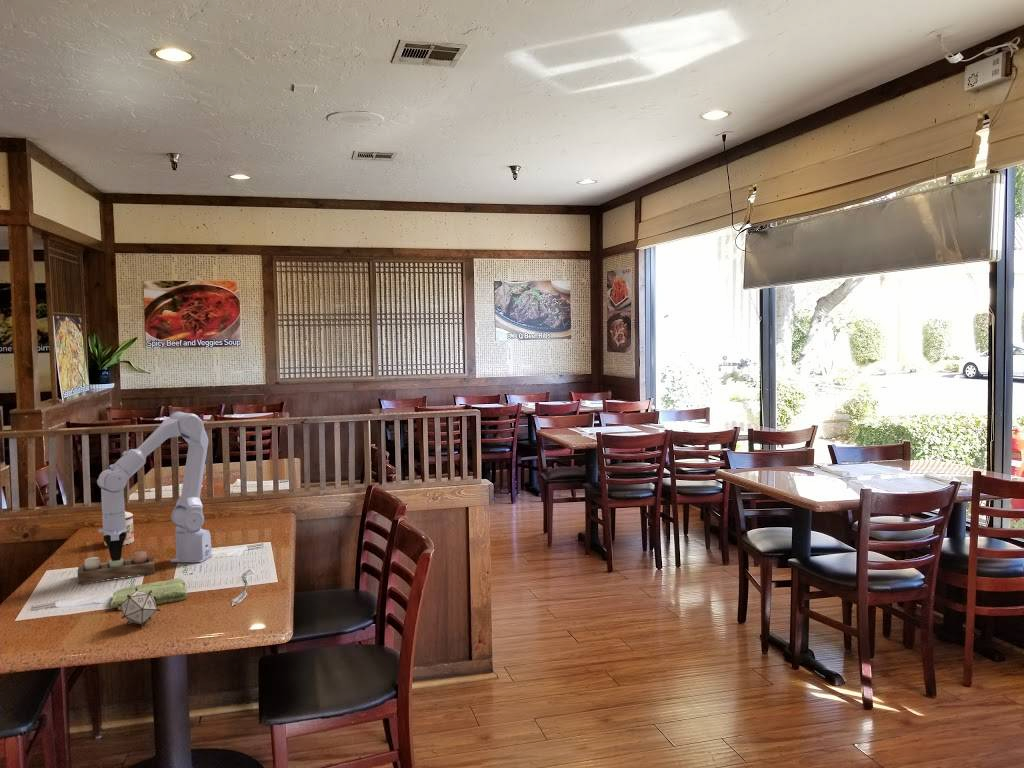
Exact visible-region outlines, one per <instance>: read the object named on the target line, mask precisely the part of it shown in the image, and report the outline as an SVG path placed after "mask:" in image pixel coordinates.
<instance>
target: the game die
mask: <svg viewBox="0 0 1024 768" xmlns="http://www.w3.org/2000/svg"><path fill="white" fill-rule="evenodd" d="M135 590H136V591H135V592H134V593H133V594H132V595H131V596H130V595H127V597H128V598H127V599H126V600H125V601H124V602H123V603H122V604H117V605H118V606H121V607H122V610H121V611H122V613H123V615H122V616H121V619H122V620H123V619H126V620H127V622H126V625H129V624H130V623H133V624H137V625H140V627H141V626H143V627H144V623H146V622H147V621H148V620H149V619H150V620H152V616H153V615H154V614H155V613H157V612H160V611H162V610H161V608H158V607H157V605H156V603H155V600H154V599H156V597H154V598H153V597H152V595H151V594H150V593H151V592H152V590H151V591H150V592H149V593H147V592H141V591H137V590H138V588H135ZM128 623H129V624H128Z"/></svg>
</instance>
